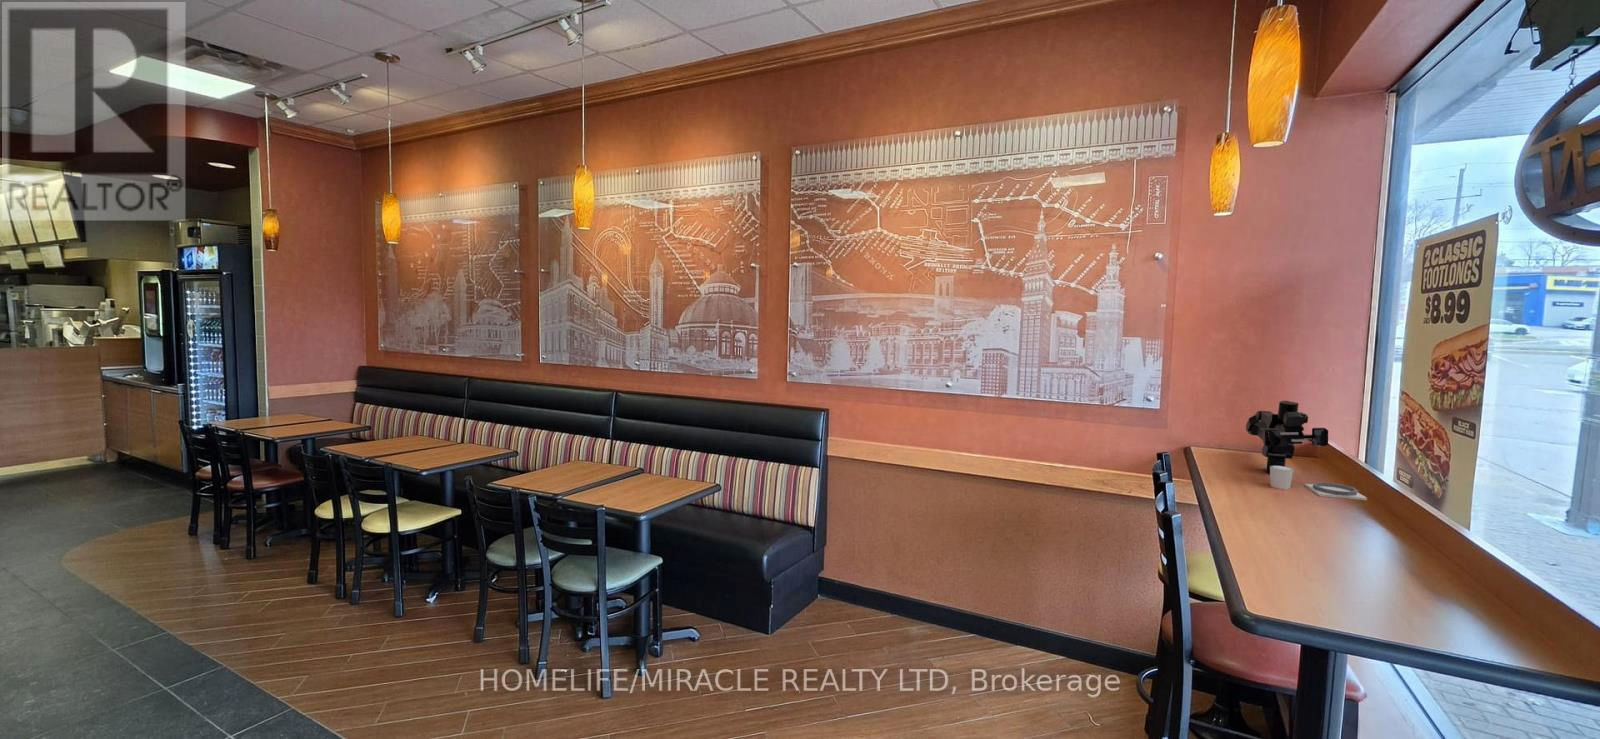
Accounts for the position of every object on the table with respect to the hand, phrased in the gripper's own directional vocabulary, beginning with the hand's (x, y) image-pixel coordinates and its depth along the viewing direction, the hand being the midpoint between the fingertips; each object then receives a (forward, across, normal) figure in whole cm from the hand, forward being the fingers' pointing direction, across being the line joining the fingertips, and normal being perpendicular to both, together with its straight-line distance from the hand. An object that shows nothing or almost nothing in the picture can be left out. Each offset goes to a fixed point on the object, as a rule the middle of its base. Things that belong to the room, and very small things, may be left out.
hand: (1303, 444), depth 227 cm
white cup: (-2, -6, +16) cm, 18 cm away
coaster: (0, +9, +18) cm, 20 cm away
